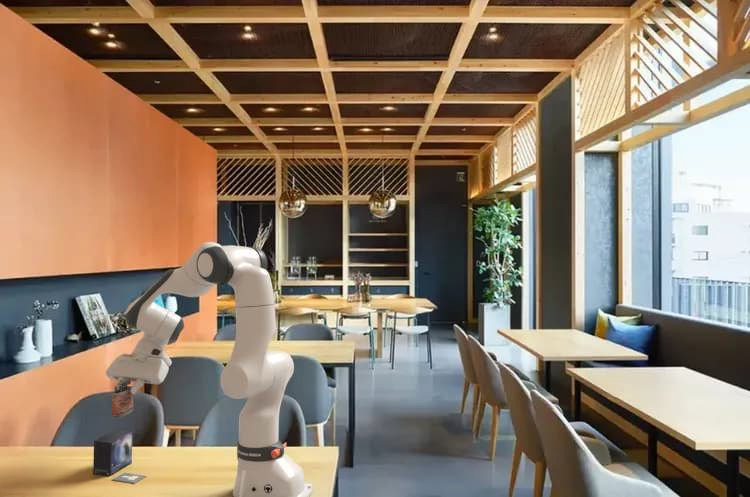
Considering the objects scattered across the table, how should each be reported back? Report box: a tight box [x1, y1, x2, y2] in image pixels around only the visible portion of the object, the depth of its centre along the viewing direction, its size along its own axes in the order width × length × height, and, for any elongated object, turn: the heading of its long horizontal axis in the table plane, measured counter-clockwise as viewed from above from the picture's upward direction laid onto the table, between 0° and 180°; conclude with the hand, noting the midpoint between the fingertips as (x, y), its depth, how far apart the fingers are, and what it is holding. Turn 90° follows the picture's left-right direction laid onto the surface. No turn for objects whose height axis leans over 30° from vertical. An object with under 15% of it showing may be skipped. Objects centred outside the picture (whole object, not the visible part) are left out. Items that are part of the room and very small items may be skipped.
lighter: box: [110, 380, 135, 419], centre depth 168 cm, size 8×3×10 cm, turn 163°
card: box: [111, 472, 147, 484], centre depth 161 cm, size 8×5×1 cm, turn 74°
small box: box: [92, 429, 133, 477], centre depth 168 cm, size 11×6×10 cm, turn 168°
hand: (124, 392), depth 169 cm, fingers closed on lighter, 3 cm apart
